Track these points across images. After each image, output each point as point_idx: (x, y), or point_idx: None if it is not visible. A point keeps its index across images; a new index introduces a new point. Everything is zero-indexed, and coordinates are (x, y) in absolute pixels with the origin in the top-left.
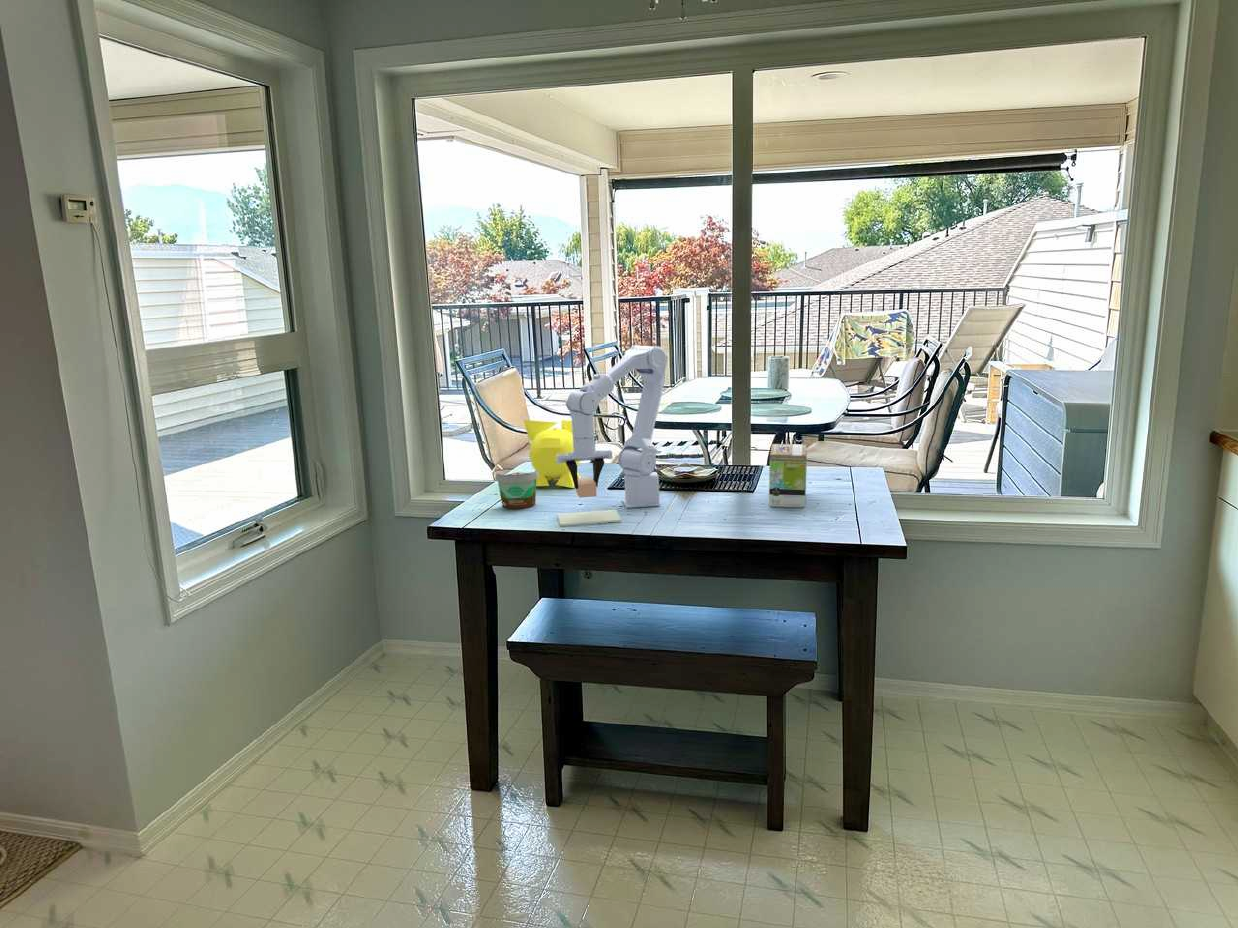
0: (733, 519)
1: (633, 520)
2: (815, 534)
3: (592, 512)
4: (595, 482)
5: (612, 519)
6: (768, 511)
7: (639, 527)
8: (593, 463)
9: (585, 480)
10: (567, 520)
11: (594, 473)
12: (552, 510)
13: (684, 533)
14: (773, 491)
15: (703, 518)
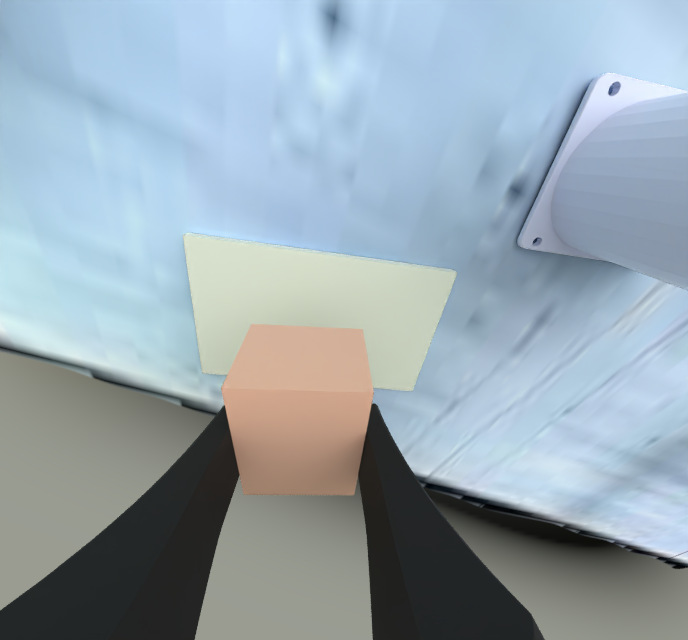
0: (667, 445)
1: (451, 382)
2: (674, 528)
3: (347, 278)
4: (360, 471)
5: (388, 381)
6: None
7: (433, 434)
8: (395, 632)
9: (302, 438)
10: (230, 342)
11: (373, 517)
12: (146, 102)
13: (498, 484)
14: None
15: (623, 421)
